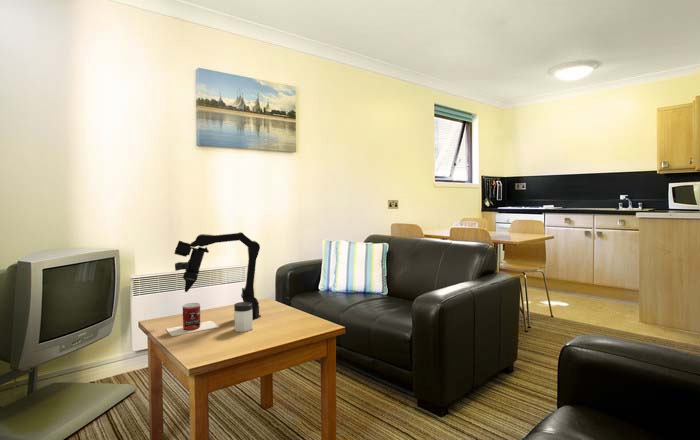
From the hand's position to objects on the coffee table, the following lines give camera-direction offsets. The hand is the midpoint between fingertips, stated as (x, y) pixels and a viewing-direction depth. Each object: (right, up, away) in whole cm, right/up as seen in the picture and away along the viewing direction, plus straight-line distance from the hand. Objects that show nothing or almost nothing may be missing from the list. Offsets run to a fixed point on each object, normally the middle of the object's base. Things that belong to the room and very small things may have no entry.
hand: (186, 289), depth 188 cm
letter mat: (+5, -17, -7) cm, 19 cm away
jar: (+30, -17, -8) cm, 36 cm away
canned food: (+5, -17, -7) cm, 19 cm away
